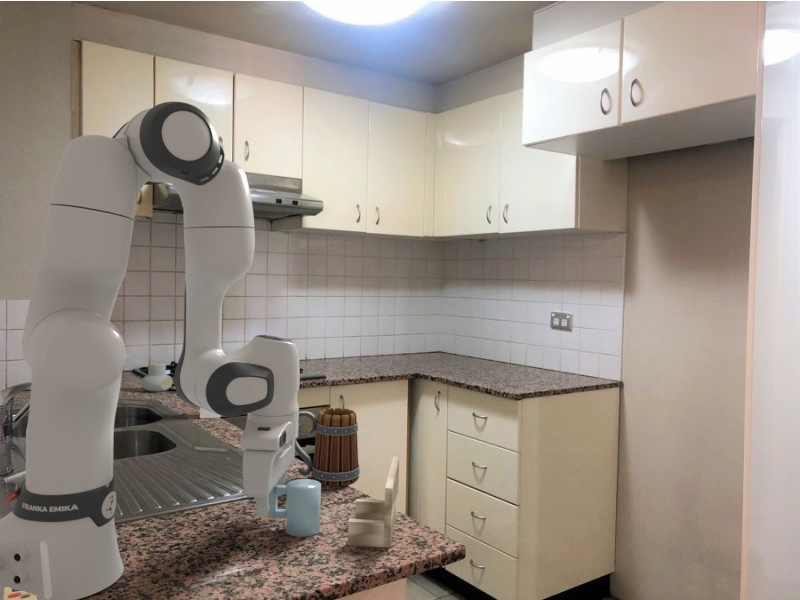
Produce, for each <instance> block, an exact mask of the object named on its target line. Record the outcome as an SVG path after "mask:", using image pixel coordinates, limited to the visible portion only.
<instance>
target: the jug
mask: <svg viewBox="0 0 800 600" xmlns="http://www.w3.org/2000/svg"><path fill="white" fill-rule="evenodd" d="M278 494H282V495H286V496H285V508H278V497H279V496H278ZM321 496H322V485H321V483H320V482H318V481H316V480H313V479H310V478H299V479H294V480H291V481H288V482H287V483H286V485H285V484H284V485H275V487H274V488H273V489H272V490H271V492H270V493H269V497H268V500H269V503H270V512H269V513H268V515H267V517H268V519H271V518H272V519H284V520H285V525H284V527H285V529H284V531H285V533H286V534H287V535H290V536H291V537H298V538H303V537H310V536H314V535H316V534H318V533H319V532H320V530H321V527H320V526H321V502H322V501H321V499H322V498H321Z"/></svg>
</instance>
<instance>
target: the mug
mask: <svg viewBox="0 0 800 600" xmlns="http://www.w3.org/2000/svg"><path fill="white" fill-rule="evenodd" d="M357 417H358V416H357V413H356V411H355V410H354V409H349V408H345V407H344V408H342V407H335V408H333V407H329V408H323V409H321V410H319V411H318V413H317V417H316V415H315V414H314V413H312V412H310V411H307V410H301V411H299V419H300V418H307V419H309V420H310V422H311V428H310V429H309V430H308V431H307V433H308V434H309V435H310V436H313V434H314V433H315V432H316V433H315V442H314V453H313V459H312V458H311V456H310V455H309V454H308V453H307V452H305V450H304V449H303V447H301V445H300V444H299V442H298V441H297V438H296V439H295V453H297V454H298V456H299V457H301V459H302V460H303V461H304V462H305V463H306V466H307V468H304V465H302V466H301V465H299V466H298V468H297V471H298V473H299V474H300V475H301V476H303V477H307V476H309V475H310V474H311V478H312V479H311V480H316V481H318V482H320V483H321V486H324V487H329V488H330V487H333V488H338V487H347V486H350V485H353V484H355V483H356V482H357V481H358V480H359V478H360V464H359V447H358V430H359V429H358V428H359V427H358V426H359V425H358V424H359V423H358V421H357Z"/></svg>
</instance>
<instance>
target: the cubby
mask: <svg viewBox="0 0 800 600" xmlns="http://www.w3.org/2000/svg"><path fill="white" fill-rule="evenodd" d="M390 464H391V465H390V467H389V472H388V476H387V479H386V484H385V487H384V500H383V499H366V498H365V499H364V498H356V499H355V511H354V512H355V513H354V514H355V515H354V517H355V518H349V519H348V521H347V523H348V524H347V546H356V547H372V548H374V547H375V548H389V549H390V548H391V546H392V543H393V536H394V530H395V525H396V519H397V514H398V513H397V512H398V507H399V505H398V504H399V480H400V478H399V477H400V455H399V456H397V455H396V456H395V455H393V456H392V459H391V463H390Z"/></svg>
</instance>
